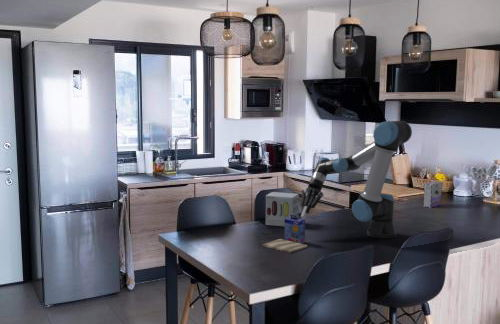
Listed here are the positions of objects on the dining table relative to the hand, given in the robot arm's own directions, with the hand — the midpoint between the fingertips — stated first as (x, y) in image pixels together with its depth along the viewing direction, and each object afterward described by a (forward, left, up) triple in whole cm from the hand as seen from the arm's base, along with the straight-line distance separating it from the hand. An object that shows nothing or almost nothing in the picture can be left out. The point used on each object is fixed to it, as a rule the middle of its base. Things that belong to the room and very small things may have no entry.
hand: (302, 217), depth 273 cm
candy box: (-15, -128, -11) cm, 129 cm away
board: (-3, +19, -11) cm, 22 cm away
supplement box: (+29, -18, -11) cm, 36 cm away
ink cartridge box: (-1, +8, -11) cm, 14 cm away
